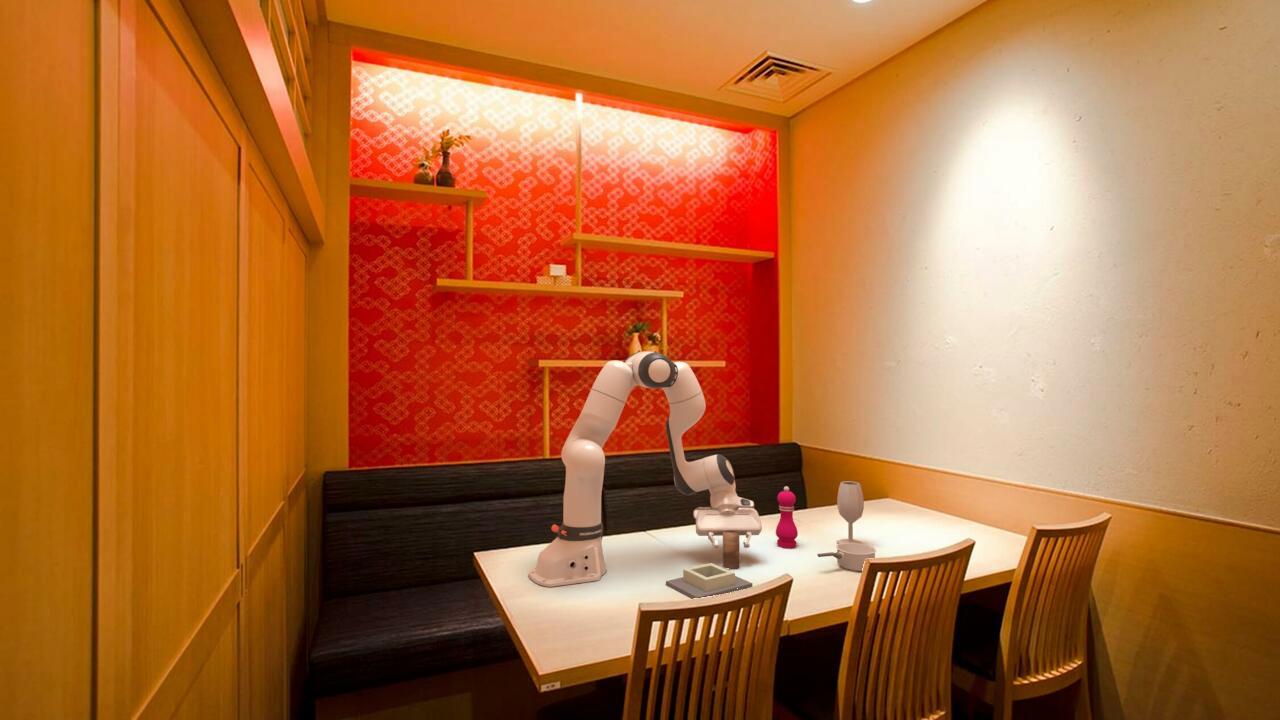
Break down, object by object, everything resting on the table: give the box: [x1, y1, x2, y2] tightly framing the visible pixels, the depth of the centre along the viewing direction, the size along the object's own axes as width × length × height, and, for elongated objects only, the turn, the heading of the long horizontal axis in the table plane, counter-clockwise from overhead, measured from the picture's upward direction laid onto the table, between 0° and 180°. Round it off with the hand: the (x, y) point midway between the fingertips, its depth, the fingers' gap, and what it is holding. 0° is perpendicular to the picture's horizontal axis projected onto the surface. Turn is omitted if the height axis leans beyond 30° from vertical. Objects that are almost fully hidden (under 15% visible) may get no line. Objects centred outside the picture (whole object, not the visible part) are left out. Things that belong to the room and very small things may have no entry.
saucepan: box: [817, 543, 877, 572], centre depth 177 cm, size 12×20×6 cm, turn 114°
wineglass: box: [836, 481, 866, 545], centre depth 201 cm, size 9×9×21 cm
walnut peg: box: [722, 531, 741, 570], centre depth 178 cm, size 5×5×10 cm
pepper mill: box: [775, 485, 799, 549], centre depth 200 cm, size 7×7×20 cm
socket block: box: [665, 562, 753, 600], centre depth 162 cm, size 19×14×4 cm
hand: (731, 547), depth 178 cm, fingers open, 8 cm apart
